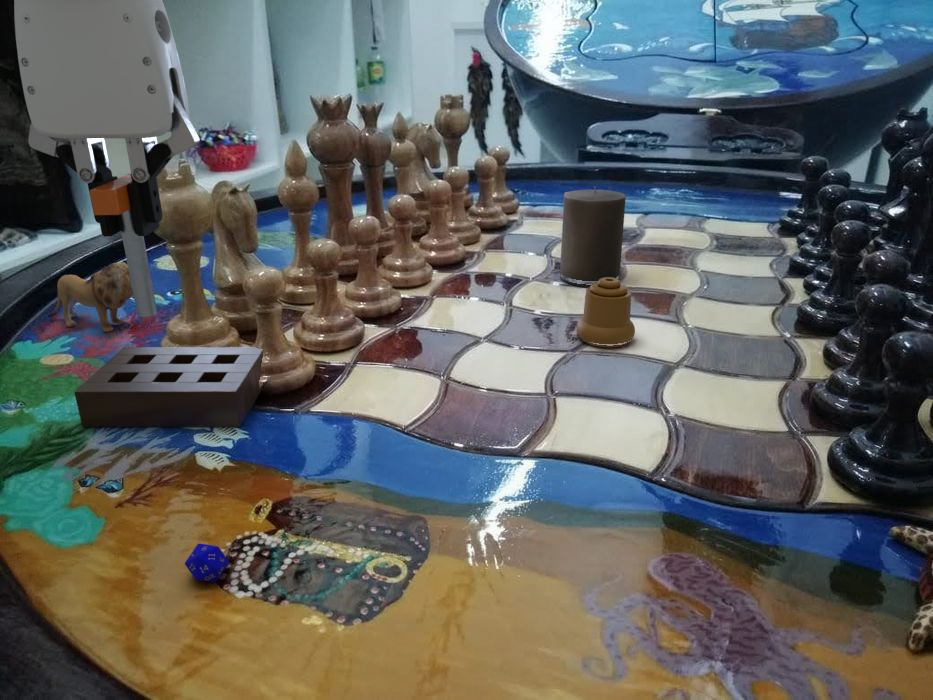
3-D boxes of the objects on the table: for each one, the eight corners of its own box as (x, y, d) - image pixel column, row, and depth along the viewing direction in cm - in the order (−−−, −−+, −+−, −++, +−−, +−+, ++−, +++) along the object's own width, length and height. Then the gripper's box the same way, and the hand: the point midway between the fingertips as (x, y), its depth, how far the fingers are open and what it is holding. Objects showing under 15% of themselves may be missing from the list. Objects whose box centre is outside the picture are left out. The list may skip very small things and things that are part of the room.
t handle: (118, 330, 56) (89, 190, 52) (153, 300, 62) (129, 173, 58) (141, 330, 56) (114, 189, 52) (174, 300, 62) (152, 173, 58)
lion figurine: (154, 321, 102) (143, 258, 98) (131, 335, 97) (118, 269, 93) (60, 314, 104) (46, 252, 101) (33, 327, 99) (17, 263, 96)
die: (237, 576, 54) (219, 566, 51) (203, 593, 53) (184, 583, 51) (227, 543, 55) (210, 531, 52) (195, 559, 55) (175, 548, 52)
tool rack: (240, 427, 74) (235, 391, 72) (82, 427, 74) (73, 391, 72) (268, 378, 84) (264, 346, 83) (129, 379, 84) (123, 347, 83)
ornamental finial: (633, 330, 98) (634, 351, 92) (578, 326, 100) (574, 347, 93) (639, 273, 95) (640, 290, 89) (581, 269, 97) (577, 287, 90)
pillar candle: (614, 290, 114) (622, 194, 108) (553, 284, 117) (557, 189, 111) (623, 273, 123) (631, 182, 117) (565, 267, 125) (570, 179, 120)
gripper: (216, -32, 53) (247, 220, 60) (-4, -31, 53) (53, 222, 60) (180, -43, 46) (220, 243, 53) (-74, -42, 46) (1, 245, 53)
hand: (131, 230), depth 56 cm, fingers closed on t handle, 1 cm apart
